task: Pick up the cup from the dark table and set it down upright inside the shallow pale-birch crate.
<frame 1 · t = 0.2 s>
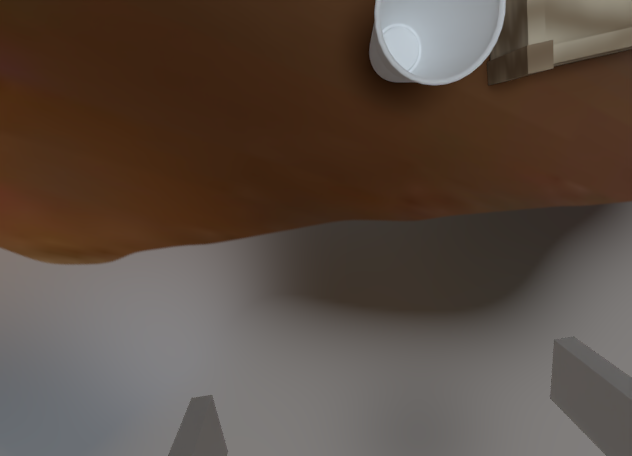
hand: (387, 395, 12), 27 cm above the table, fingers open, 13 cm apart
cup: (396, 52, 35), on the table
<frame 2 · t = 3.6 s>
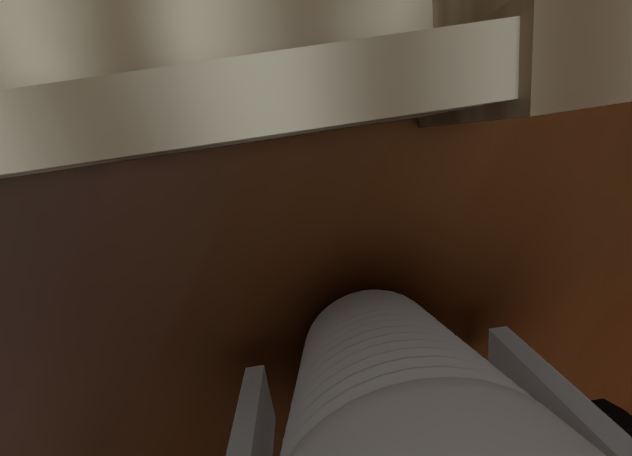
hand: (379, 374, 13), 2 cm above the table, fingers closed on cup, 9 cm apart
cup: (367, 341, 16), on the table, touching gripper
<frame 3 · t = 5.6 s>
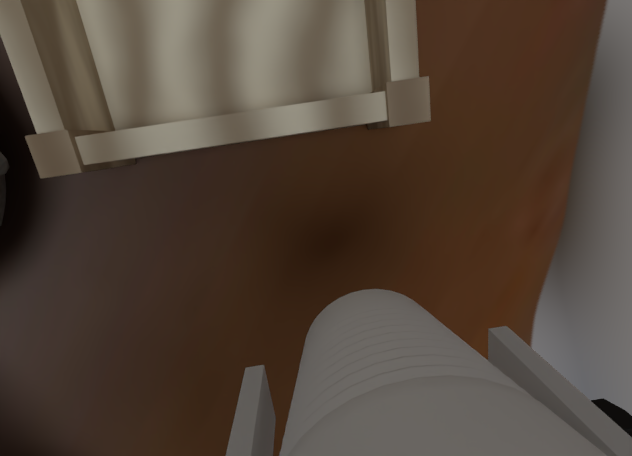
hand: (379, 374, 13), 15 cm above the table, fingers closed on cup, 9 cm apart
cup: (367, 340, 16), point 12 cm above the table, touching gripper
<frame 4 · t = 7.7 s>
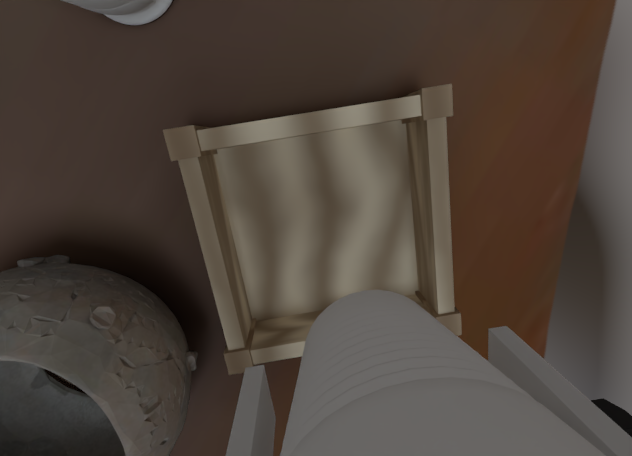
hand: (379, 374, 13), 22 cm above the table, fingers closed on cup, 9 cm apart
crate: (323, 225, 34), on the table
bowl: (108, 338, 36), on the table
cup: (367, 341, 16), point 20 cm above the table, touching gripper
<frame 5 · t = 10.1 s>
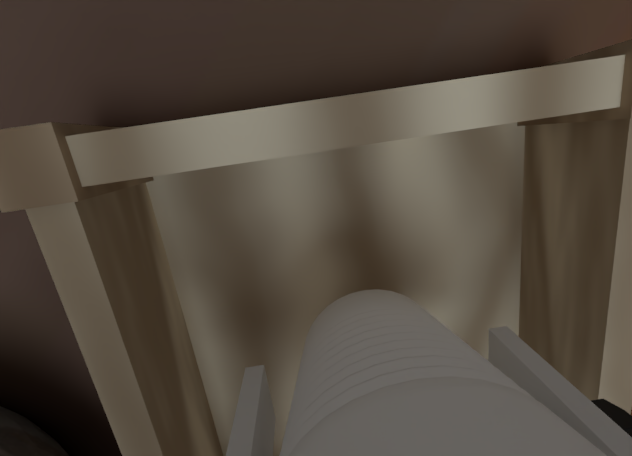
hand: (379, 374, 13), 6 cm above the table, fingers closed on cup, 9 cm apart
crate: (354, 308, 19), on the table
cup: (367, 341, 16), point 3 cm above the table, touching gripper
when the fingers open (3 cm above the table, at t = 11.8 s): cup stays where it is, resting on crate.
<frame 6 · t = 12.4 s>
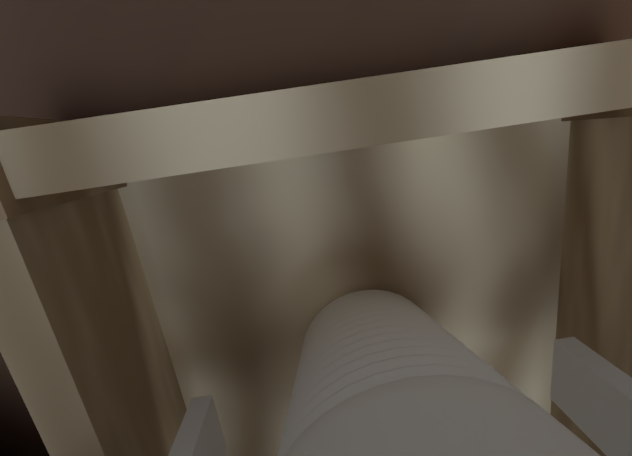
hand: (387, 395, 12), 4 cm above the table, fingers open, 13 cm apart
crate: (364, 332, 16), on the table
cup: (365, 341, 16), point 1 cm above the table, touching crate
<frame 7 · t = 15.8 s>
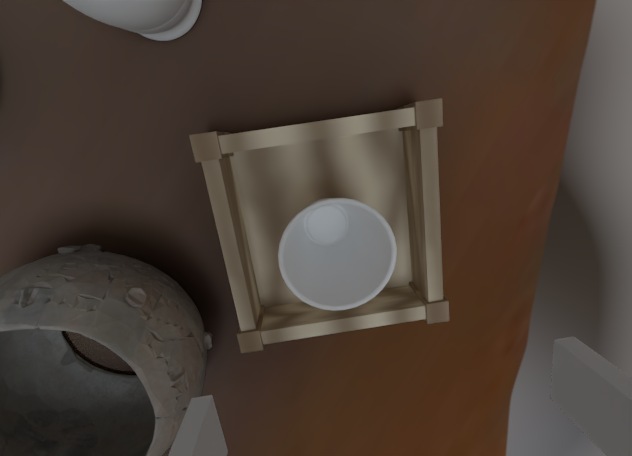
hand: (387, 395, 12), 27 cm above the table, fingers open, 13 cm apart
crate: (326, 221, 38), on the table
bowl: (130, 321, 40), on the table
cup: (326, 223, 37), point 1 cm above the table, touching crate
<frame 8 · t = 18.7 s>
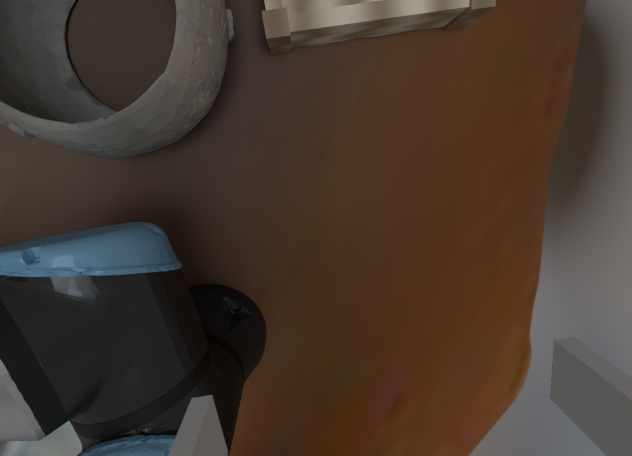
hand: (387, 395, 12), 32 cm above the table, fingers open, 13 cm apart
bowl: (141, 51, 37), on the table
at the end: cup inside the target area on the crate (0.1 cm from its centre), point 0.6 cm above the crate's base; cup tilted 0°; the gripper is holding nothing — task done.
